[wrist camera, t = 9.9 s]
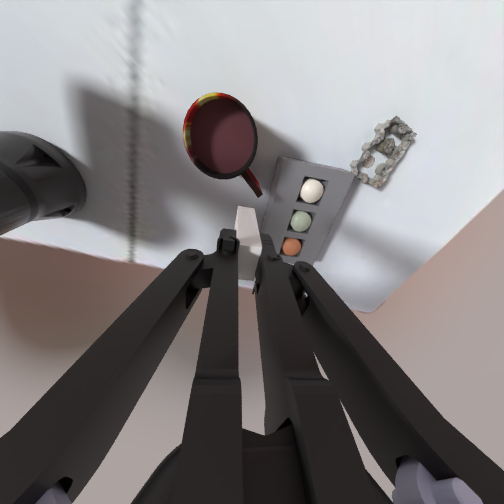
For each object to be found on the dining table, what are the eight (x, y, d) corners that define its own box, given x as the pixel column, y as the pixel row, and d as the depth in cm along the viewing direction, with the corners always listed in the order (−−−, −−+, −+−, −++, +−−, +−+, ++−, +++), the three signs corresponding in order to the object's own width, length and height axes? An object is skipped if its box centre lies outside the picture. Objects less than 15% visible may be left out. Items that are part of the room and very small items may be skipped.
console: (256, 248, 48) (258, 259, 44) (278, 155, 36) (284, 159, 32) (306, 254, 50) (312, 265, 46) (343, 169, 38) (355, 174, 34)
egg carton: (366, 185, 41) (377, 191, 37) (342, 168, 38) (352, 172, 35) (408, 136, 36) (426, 137, 32) (383, 113, 33) (400, 111, 30)
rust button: (278, 247, 46) (281, 254, 43) (283, 232, 43) (286, 239, 41) (294, 249, 46) (297, 256, 44) (299, 234, 44) (303, 241, 41)
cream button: (294, 196, 39) (298, 200, 36) (301, 175, 36) (306, 178, 34) (313, 199, 39) (318, 204, 37) (320, 179, 37) (327, 182, 34)
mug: (255, 184, 39) (261, 203, 29) (192, 149, 35) (173, 158, 25) (280, 137, 34) (297, 141, 24) (211, 90, 30) (197, 71, 20)
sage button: (285, 223, 42) (289, 230, 40) (291, 206, 40) (295, 211, 37) (302, 226, 43) (307, 232, 40) (309, 209, 41) (314, 215, 38)
